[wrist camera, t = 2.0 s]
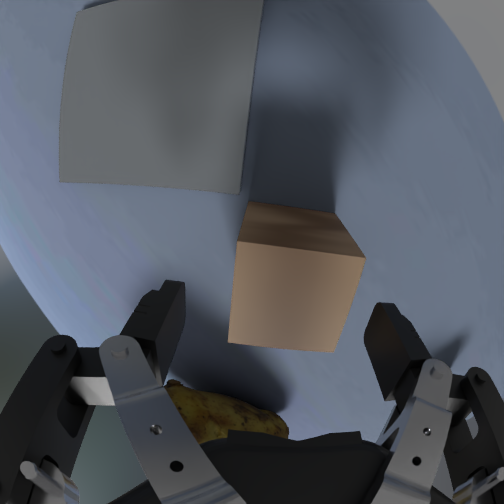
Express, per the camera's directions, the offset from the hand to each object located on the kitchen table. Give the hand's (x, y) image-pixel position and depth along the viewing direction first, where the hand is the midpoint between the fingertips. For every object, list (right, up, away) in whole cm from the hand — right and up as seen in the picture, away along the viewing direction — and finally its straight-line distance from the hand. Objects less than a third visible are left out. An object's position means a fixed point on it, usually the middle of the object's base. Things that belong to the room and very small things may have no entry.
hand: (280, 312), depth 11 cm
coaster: (-7, +12, +2) cm, 14 cm away
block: (+1, +3, +6) cm, 6 cm away
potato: (-4, -10, +12) cm, 16 cm away
